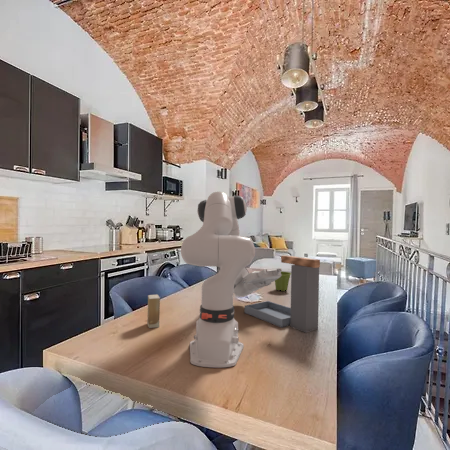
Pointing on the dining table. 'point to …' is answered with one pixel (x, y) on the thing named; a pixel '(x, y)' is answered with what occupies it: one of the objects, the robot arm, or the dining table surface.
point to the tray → (270, 313)
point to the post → (304, 297)
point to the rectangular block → (300, 261)
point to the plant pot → (282, 281)
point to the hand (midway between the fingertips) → (273, 270)
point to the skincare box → (153, 311)
